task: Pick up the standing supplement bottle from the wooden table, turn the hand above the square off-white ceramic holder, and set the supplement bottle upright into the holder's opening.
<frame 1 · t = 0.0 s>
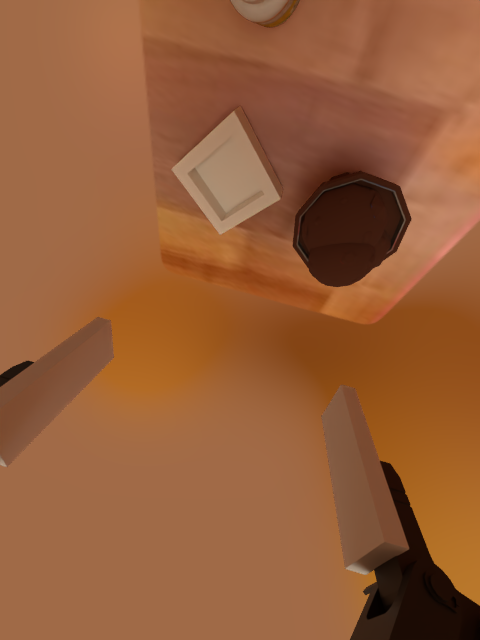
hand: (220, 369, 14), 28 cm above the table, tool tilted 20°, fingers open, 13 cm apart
holder: (231, 175, 32), on the table
ice cream bowl: (341, 196, 31), on the table
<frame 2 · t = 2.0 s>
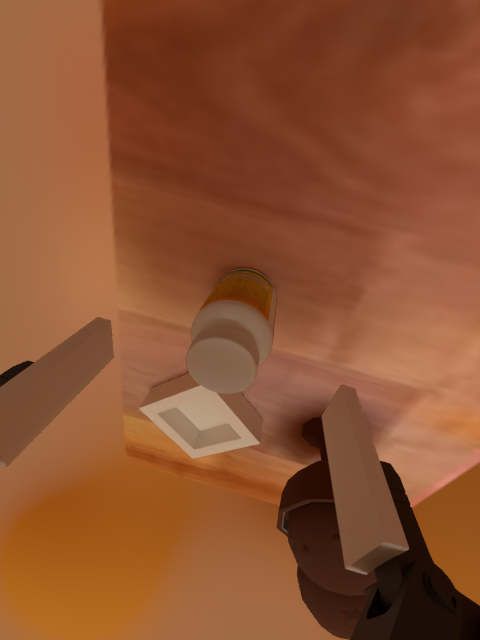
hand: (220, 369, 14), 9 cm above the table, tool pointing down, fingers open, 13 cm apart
holder: (206, 403, 30), on the table
supplement bottle: (246, 294, 21), on the table
ice cream bowl: (325, 430, 29), on the table
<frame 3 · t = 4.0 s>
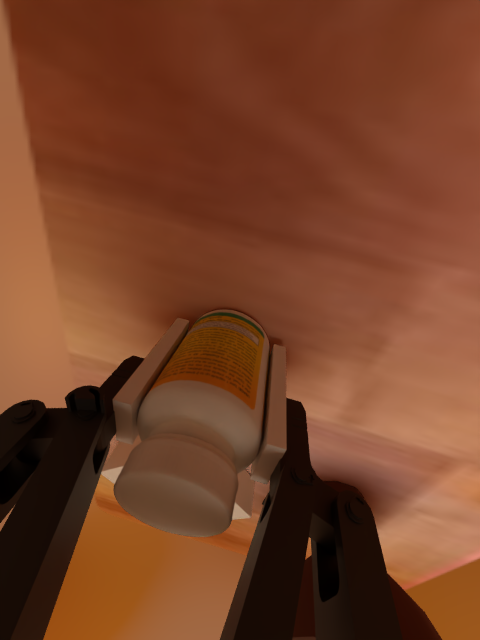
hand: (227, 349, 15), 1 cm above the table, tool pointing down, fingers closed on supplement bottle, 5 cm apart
holder: (186, 460, 24), on the table
supplement bottle: (230, 340, 16), on the table, touching gripper
ice cream bowl: (332, 494, 23), on the table
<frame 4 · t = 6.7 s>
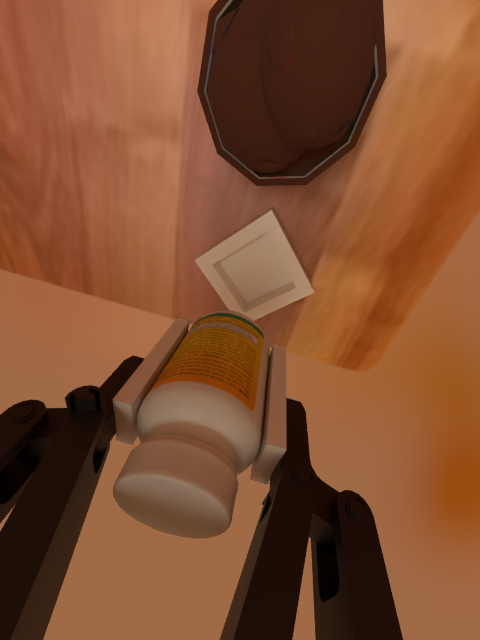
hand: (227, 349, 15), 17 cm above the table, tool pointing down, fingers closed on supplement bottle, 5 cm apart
holder: (256, 267, 30), on the table
supplement bottle: (229, 341, 16), point 16 cm above the table, touching gripper
ice cream bowl: (285, 119, 23), on the table
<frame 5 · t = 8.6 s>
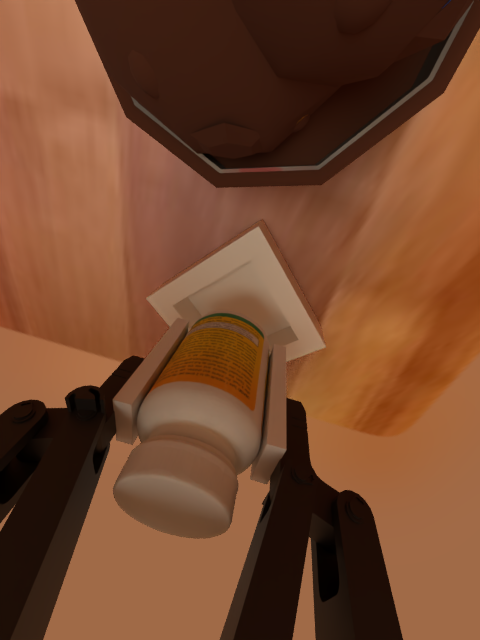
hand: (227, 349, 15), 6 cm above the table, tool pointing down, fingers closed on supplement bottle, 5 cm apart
holder: (241, 304, 21), on the table
supplement bottle: (229, 341, 16), point 5 cm above the table, touching gripper
ice cream bowl: (280, 75, 14), on the table
when the fingers open (4 cm above the table, at t = 9.8 s): supplement bottle drops 3 cm, resting on holder.
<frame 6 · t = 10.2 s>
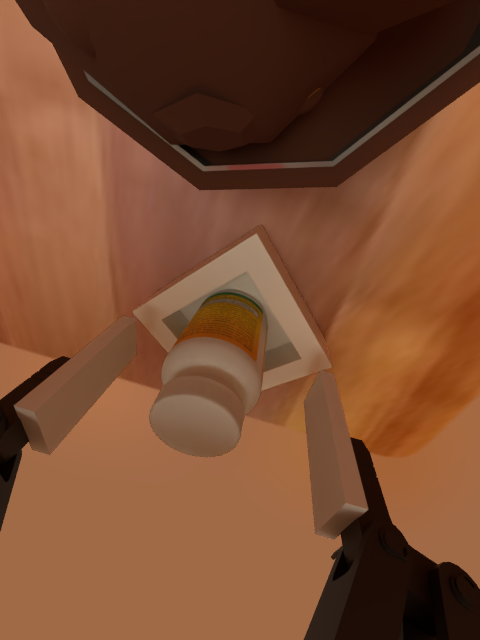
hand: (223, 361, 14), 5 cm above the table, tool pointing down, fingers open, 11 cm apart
holder: (238, 317, 19), on the table
supplement bottle: (233, 318, 19), resting on holder
ice cream bowl: (282, 59, 12), on the table
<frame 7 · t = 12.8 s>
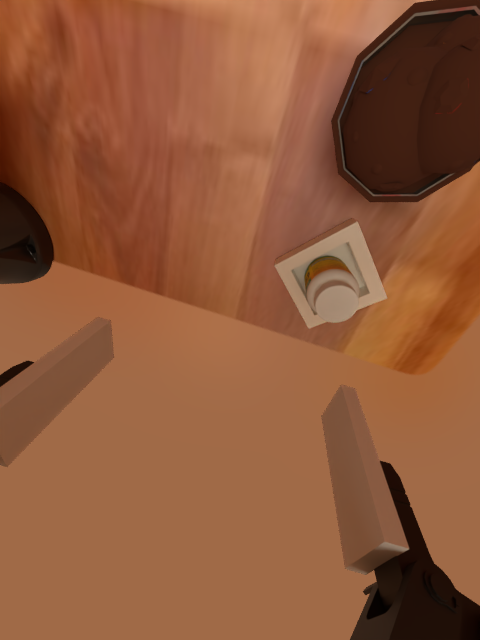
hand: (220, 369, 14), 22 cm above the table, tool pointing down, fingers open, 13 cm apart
holder: (327, 273, 32), on the table
supplement bottle: (324, 274, 32), resting on holder
ice cream bowl: (375, 139, 25), on the table
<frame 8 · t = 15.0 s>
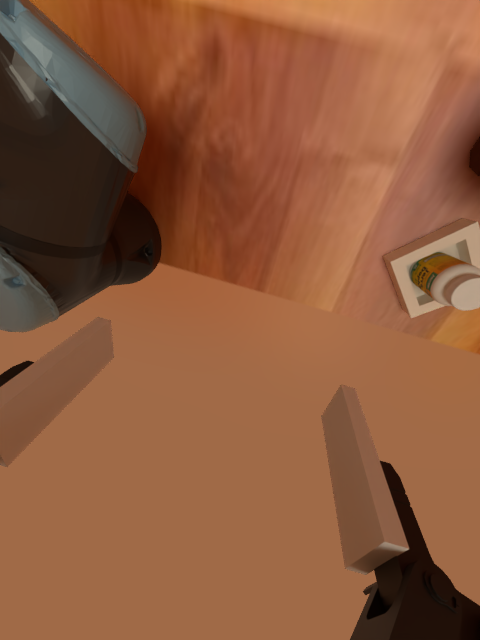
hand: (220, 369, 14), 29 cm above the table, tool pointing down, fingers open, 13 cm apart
holder: (429, 268, 36), on the table
supplement bottle: (428, 268, 35), resting on holder
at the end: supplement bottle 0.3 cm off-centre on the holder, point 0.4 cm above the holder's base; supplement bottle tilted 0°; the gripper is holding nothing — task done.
